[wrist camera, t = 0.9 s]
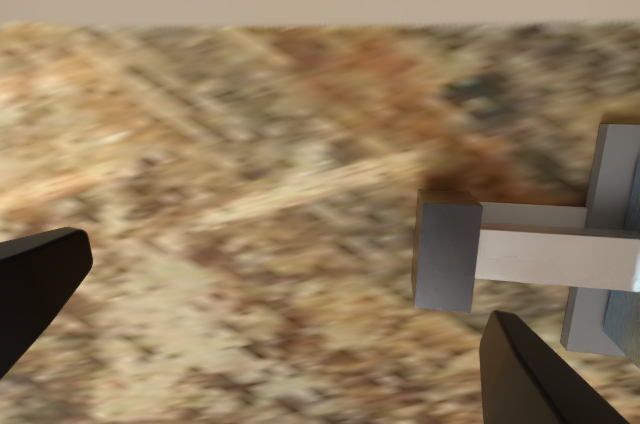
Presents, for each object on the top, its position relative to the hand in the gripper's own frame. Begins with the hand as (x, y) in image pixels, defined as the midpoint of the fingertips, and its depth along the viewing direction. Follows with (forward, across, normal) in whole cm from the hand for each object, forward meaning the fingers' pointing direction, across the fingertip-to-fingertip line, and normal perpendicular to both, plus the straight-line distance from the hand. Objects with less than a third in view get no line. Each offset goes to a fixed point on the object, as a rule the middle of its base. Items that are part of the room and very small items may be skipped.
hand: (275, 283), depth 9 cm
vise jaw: (+13, -10, +4) cm, 17 cm away
